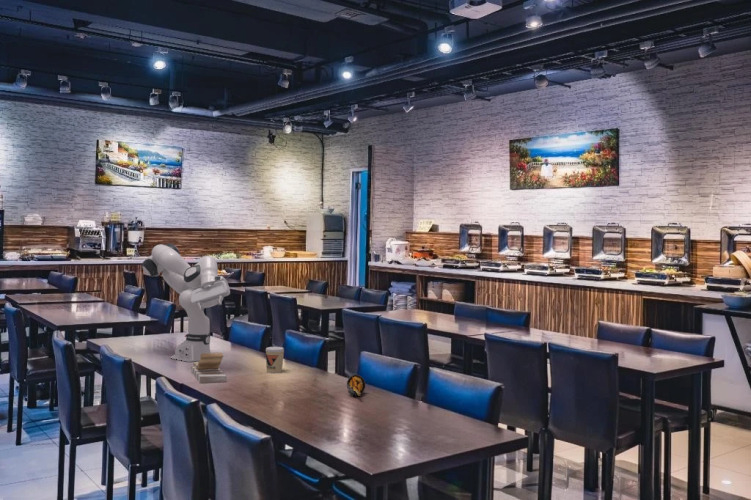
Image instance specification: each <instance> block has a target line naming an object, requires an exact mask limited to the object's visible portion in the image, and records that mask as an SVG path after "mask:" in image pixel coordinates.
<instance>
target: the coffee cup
mask: <svg viewBox="0 0 751 500" xmlns="http://www.w3.org/2000/svg"><path fill="white" fill-rule="evenodd" d="M284 354H285V349H284V347H282V346H281V347H280V346H269V347H266V348H265V362H266V366H265V367H266V372H267V373H269V374H279V373H282V372H283V366H284V365H283V363H284Z"/></svg>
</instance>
